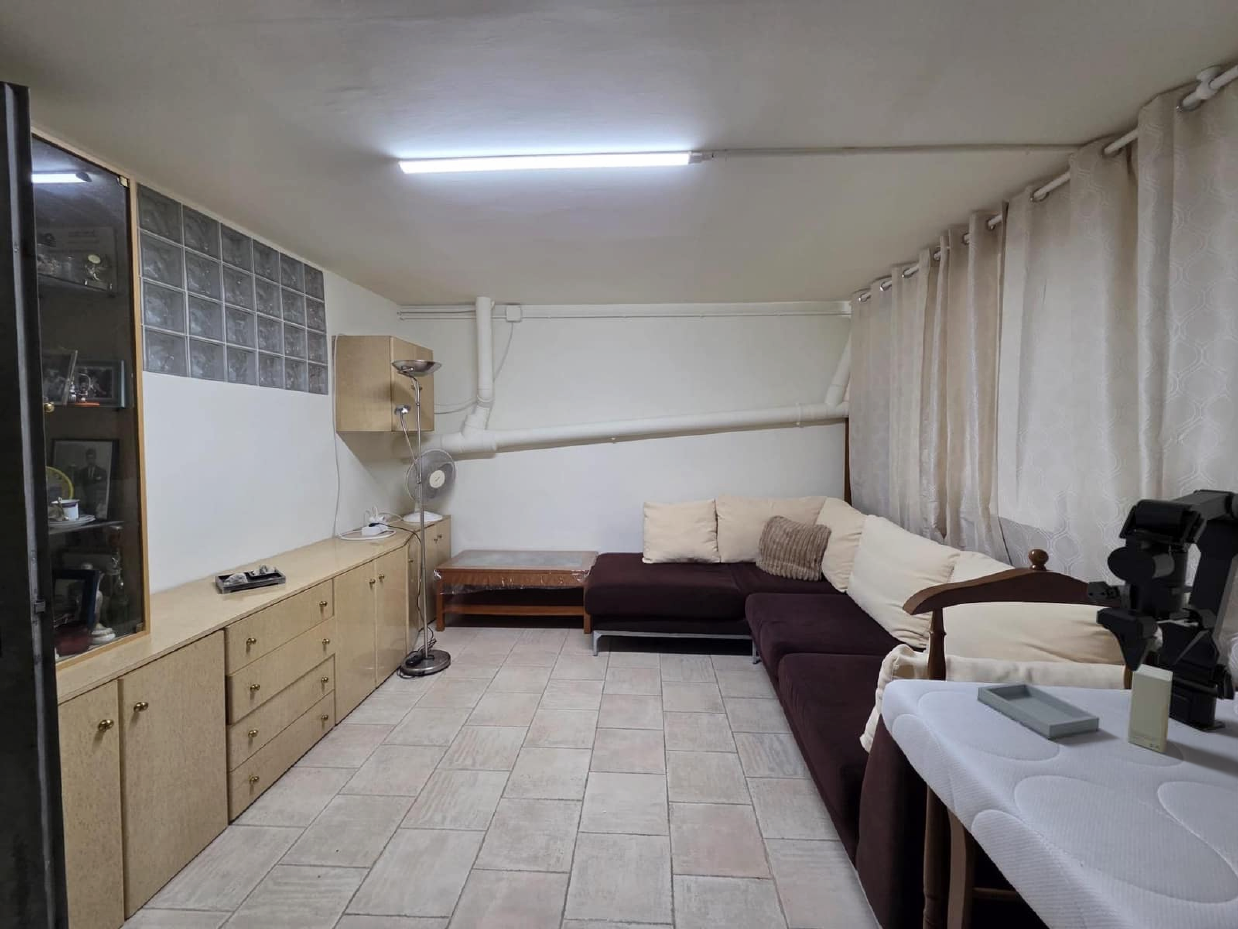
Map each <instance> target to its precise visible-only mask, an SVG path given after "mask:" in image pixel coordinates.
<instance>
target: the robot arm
mask: <svg viewBox="0 0 1238 929" xmlns="http://www.w3.org/2000/svg"><path fill="white" fill-rule="evenodd" d="M1118 539H1122V540H1125V544H1124V546H1121V547H1117V548H1114V549H1113V550H1112V551H1111V552H1110V554H1109V555H1108V556H1107V560H1106V563H1107V567H1108V570H1109V571H1110V572H1111V574H1112V575H1114V576H1115V577H1116V578H1118V579H1119V580H1121V581H1123V582H1124V584H1110V585H1109V584H1108V583H1107V582H1106V581H1105V580H1102V581H1101V580H1100V581H1089V582H1088V584H1087V587H1086V588H1087V589H1086V592H1085V595H1086V597H1088V598H1089V599H1091V600H1092V601H1093V602H1094V605H1096V606H1100V605H1101V606H1102V605H1104V604H1120V606H1112V607H1103V608H1102V609H1099V610H1097V611H1096V616H1095V618H1096V619H1095V623H1096V624H1097V625H1101V626H1102V628H1103V629H1105V630H1108V631H1109V632H1110V633H1111V634H1113V635H1114V636H1115V638H1116V641H1117V643H1118V645H1119V648H1120V651H1121V654H1122V657H1123V659H1124V663H1125V665H1126V666H1125V667H1126V668H1127V669H1128V670H1130V671H1132V672H1133V671H1137V670H1138V669H1139V667H1140V666H1141V664H1144V661H1145V659H1146V658H1147V656H1148V654H1149V652H1150V651H1151V649H1152V647H1153V646H1154V644H1155V642H1156V640H1157V639H1158V636H1155V634H1156V633H1157V632H1158V629H1160V630H1161V641H1162V642H1161V646H1158V648H1157V649H1156V651H1155V653H1154V667H1156V668H1160V669H1163V670H1167V671H1171V672H1172V684H1171V696H1170V708H1169V718H1172V719H1175V720H1176V721H1179V722H1181V723H1183V724H1185V725H1188V726H1189V727H1190V726H1191V727H1193V728H1195V729H1197V730H1199V731H1200V730H1201V731H1209V730H1214V729H1220V728H1225V727H1226V723H1225V722H1223V721H1220V720H1218V719H1216V710H1217V709H1216V708H1217V702H1218V700H1221V701H1224V700H1230V701H1235V698H1236V681H1235V679H1234V676H1233V674H1232V671H1231V668H1230V666H1229V665H1228V663H1229V656H1228V654H1227V653H1226V651H1225V649H1224V647H1223V645H1222V644H1221V642H1220V636H1221V632H1222V628H1223V624H1224V620H1225V618H1226V613H1227V609H1228V605H1229V601H1230V597H1231V594H1232V590H1233V586H1234V583H1235V579H1236V574H1237V571H1238V493H1236V492H1234V491H1229V490H1216V489H1205V488H1201V489H1195V490H1194V491H1193V492H1191V493H1189V494H1186V495H1183V496H1181V497H1177V498H1174V499H1171V500H1165V499H1152V498H1151V499H1150V498H1148V499H1147V498H1142V499H1140V500H1139V501H1137V503H1136V504H1134V505H1133V506H1131V509H1130V510H1129V512H1128V515H1127V517H1126V519H1125V521H1124V523H1123V526H1122V528H1121V530H1120V532H1119V535H1118ZM1192 545H1195V546H1196V548H1197V549H1198V551H1199V553H1200V556H1199V560H1198V563H1197V566H1196V570H1195V574H1194V578H1193V582H1192V585H1187V584H1186V581H1187V580H1186V579H1187V573H1188V572H1187V570H1188V561H1189V560H1188V559H1189V550H1190V549H1191V546H1192ZM1185 594H1189V597H1188V600H1187V603H1186V602H1185V600H1184V599H1185ZM1217 699H1218V700H1217Z"/></svg>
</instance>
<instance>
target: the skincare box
mask: <svg viewBox="0 0 1238 929" xmlns="http://www.w3.org/2000/svg"><path fill="white" fill-rule="evenodd" d="M1171 684H1172V672H1171V671H1167V670H1163V669H1160V668H1156V667H1155V666H1151V665H1147V664H1144V663H1142V664H1141V666H1140V667H1139V669H1138V670H1137V671H1132V679H1131V692H1130V702H1129V703H1130V705H1129V715H1128V727H1127V739H1126V741H1127V742H1130V743H1133V744H1135V745H1138V746H1140V747H1143V748H1145V749H1149V750H1152V751H1154V752H1159V753H1162V754H1164V753H1165V750H1166V748H1167V747H1166V746H1167V742H1168V731H1169V730H1168V728H1169V718H1170V717H1169V708H1170V696H1171Z"/></svg>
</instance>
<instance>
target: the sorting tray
mask: <svg viewBox="0 0 1238 929" xmlns="http://www.w3.org/2000/svg"><path fill="white" fill-rule="evenodd" d="M976 699H977V701H978V700H979V701H978V702H980V703H982V702H983V703H984V705H985V706H987V705H988V707H989V708H991V709H992V708H994V709H995V710H994V709H993V710H994V711H996V710H997V711H996V712H998V713H1000V712H1001V713H1002V714H1001V713H1000V714H1001V715H1003V714H1004V715H1003V716H1005V715H1006V716H1005V717H1007V716H1008V717H1009V718H1008V717H1007V718H1008V719H1010V718H1011V719H1010V720H1012V719H1014V720H1015V721H1014V720H1013V721H1014V722H1015V723H1017V722H1019V723H1020V724H1019V723H1018V724H1019V725H1021V724H1022V725H1021V726H1023V727H1024V728H1026V727H1027V728H1026V729H1029V730H1030V731H1032V732H1034V733H1035V732H1036V733H1035V734H1036V735H1039V736H1040V737H1042V736H1043V737H1042V738H1044V737H1045V738H1044V739H1046V740H1048V739H1050V740H1055V739H1061V738H1066V737H1074V736H1078V735H1079V736H1081V735H1084V734H1085V735H1086V734H1091V733H1098V732H1099V729H1100V728H1099V726H1100V717H1099V716H1097V715H1094V714H1093V713H1090V712H1088V711H1086V710H1084V709H1082V708H1080V707H1078V706H1076V705H1074V704H1071V703H1070V702H1068V701H1066V700H1064V699H1061V698H1059V697H1057V696H1055V695H1053V694H1050V693H1048V692H1047V691H1044V690H1042V689H1040V688H1039V687H1036V686H1034V685H1032V684H1030V683H1028V682H1025V681H1020V682H1019V681H1018V682H1011V683H1004V684H996V685H988V686H980V687H978V688H977V698H976ZM983 703H982V704H983Z"/></svg>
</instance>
